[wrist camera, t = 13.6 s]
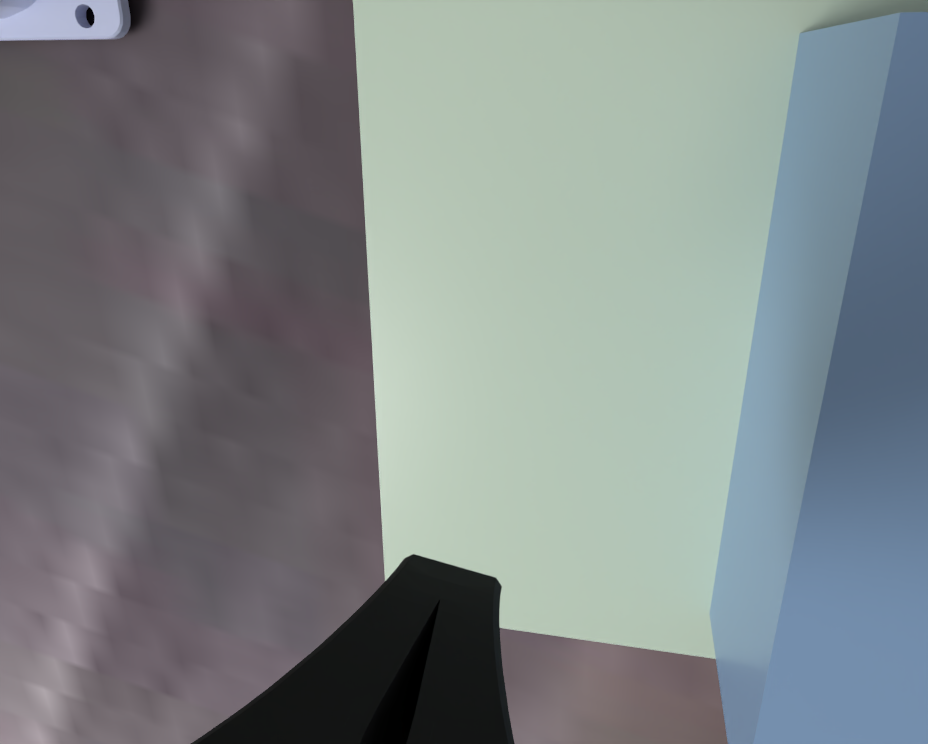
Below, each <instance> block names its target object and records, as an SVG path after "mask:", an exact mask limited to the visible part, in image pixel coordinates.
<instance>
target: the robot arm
mask: <svg viewBox="0 0 928 744" xmlns="http://www.w3.org/2000/svg"><path fill="white" fill-rule="evenodd" d="M89 7H90V8H91V9H92V11H93V13H94V16H95V20H94V24H93V25H92V27H91V26H90V25H89V24H88V21H87V18H86V11H87V9H88V8H89ZM130 25H131V16H130V10H129V4H128V0H0V41H17V40H91V39H119V38H122V37H124V36H125V35H126V34H127V33H128V30H129V28H130ZM501 589H502V586H501V584H500V583H499V581H498V580H497V578H496V577H492V576H489V575H485V574H482V573H478V572H475V571H471V570H468V569H464V568H461V567H457V566H454V565H450V564H447V563H443V562H440V561H436V560H433V559H429V558H426V557H422V556H419V555H415V554H412V555H410V556H408V557H406V558H404V560H403V561H402V562H401V563H400V565H399V566H398V567H397V568H396V570H395V571H394V572H393V573H392V574H391V575H390V577H389V578H388V579H387V580H386V581H385V582H384V583H383V584H382V585H381V587H380V588H379V589H378V590H377V591H376V592H375V593H374V594H373V595H372V596H371V597H370V598H369V599H368V600H367V601H366V602H365V603H364V604H363V605H362V606H361V607H360V608H359V609H358V610H357V611H356V612H355V613H354V614H353V615H352V616H351V617H350V618H349V619H348V620H347V621H346V622H345V623H343V624H342V625H341V626H340V627H339V628H338V629H337V630H336V631H335V632H334V633H333V634H332V635H331V636H330V637H328V638H327V639H326V640H325V641H324V642H323V643H322V644H321V645H320V646H319V647H317V648H316V649H315V650H314V651H313V652H312V653H311V654H309V655H308V656H307V657H306V658H304V659H303V660H302V661H301V662H300V663H298V664H297V665H296V666H295V667H294V668H292V669H291V670H290V671H289V672H288V673H286V674H285V675H284V676H283V677H282V678H280V679H279V680H278V681H277V682H275V683H274V684H273V685H272V686H271V687H269V688H268V689H267V690H265V691H264V692H263V693H262V694H260V695H259V696H258V697H256V698H255V699H254V700H252V701H251V702H250V703H248V704H247V705H246V706H244V707H243V708H242V709H240V710H239V711H237V712H236V713H235V714H233V715H232V716H231V717H229V718H228V719H226V720H225V721H223V722H222V723H221V724H219V725H218V726H216V727H215V728H213V729H212V730H211V731H209V732H208V733H206V734H205V735H203V736H202V737H200V738H199V739H197V740H196V741H194V742H193V743H191V744H514V740H513V734H512V729H511V723H510V718H509V712H508V705H507V698H506V691H505V683H504V676H503V668H502V659H501V646H500V628H499V608H500V595H501Z"/></svg>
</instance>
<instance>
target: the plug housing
mask: <svg viewBox="0 0 928 744" xmlns="http://www.w3.org/2000/svg"><path fill="white" fill-rule="evenodd" d="M710 621H711V628H712V635H713V642H714V649H715V656H716V663H717V670H718V677H719V684H720V691H721V698H722V705H723V712H724V719H725V726H726V733H727V740H728V744H928V12H900V13H896V14H891V15H886V16H881V17H876V18H871V19H866V20H862V21H857V22H852V23H847V24H842V25H837V26H833V27H828V28H823V29H818V30H813V31H808V32H803V33H800V35H799V41H798V48H797V54H796V61H795V67H794V73H793V80H792V86H791V93H790V99H789V106H788V112H787V118H786V125H785V131H784V138H783V144H782V151H781V157H780V163H779V170H778V176H777V183H776V189H775V196H774V202H773V209H772V215H771V221H770V228H769V234H768V241H767V247H766V254H765V260H764V266H763V273H762V279H761V286H760V292H759V299H758V305H757V311H756V318H755V324H754V331H753V337H752V344H751V350H750V356H749V363H748V369H747V376H746V382H745V389H744V395H743V401H742V408H741V414H740V421H739V427H738V434H737V440H736V446H735V453H734V459H733V466H732V472H731V479H730V485H729V491H728V498H727V504H726V511H725V517H724V524H723V530H722V536H721V543H720V549H719V556H718V562H717V569H716V575H715V582H714V588H713V594H712V601H711V607H710Z"/></svg>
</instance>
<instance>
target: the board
mask: <svg viewBox="0 0 928 744" xmlns="http://www.w3.org/2000/svg"><path fill="white" fill-rule="evenodd" d="M353 9H354V27H355V45H356V63H357V81H358V99H359V117H360V135H361V153H362V172H363V190H364V208H365V226H366V244H367V262H368V280H369V298H370V316H371V334H372V352H373V371H374V389H375V407H376V425H377V443H378V461H379V479H380V497H381V515H382V533H383V552H384V570H385V581H386V580H387V579H388V578H389V577H390V575H391V574H392V573H393V572H394V571H395V570H396V568H397V567H398V566H399V565H400V563H401V562H402V561H403V560H404V558H406V557H408V556H410V555H412V554H415V555H419V556H422V557H426V558H429V559H433V560H436V561H440V562H443V563H447V564H450V565H454V566H457V567H461V568H464V569H468V570H471V571H475V572H478V573H482V574H485V575H489V576H492V577H496V578H497V580H498V581H499V583H500V584H501V586H502V589H501V595H500V608H499V628H505V629H512V630H519V631H526V632H533V633H540V634H547V635H554V636H561V637H568V638H575V639H582V640H589V641H596V642H603V643H609V644H616V645H623V646H630V647H637V648H644V649H651V650H658V651H665V652H672V653H679V654H686V655H693V656H700V657H707V658H714V659H716V656H715V649H714V642H713V635H712V628H711V621H710V607H711V601H712V594H713V588H714V582H715V575H716V569H717V562H718V556H719V549H720V543H721V536H722V530H723V524H724V517H725V511H726V504H727V498H728V491H729V485H730V479H731V472H732V466H733V459H734V453H735V446H736V440H737V434H738V427H739V421H740V414H741V408H742V401H743V395H744V389H745V382H746V376H747V369H748V363H749V356H750V350H751V344H752V337H753V331H754V324H755V318H756V311H757V305H758V299H759V292H760V286H761V279H762V273H763V266H764V260H765V254H766V247H767V241H768V234H769V228H770V221H771V215H772V209H773V202H774V196H775V189H776V183H777V176H778V170H779V163H780V157H781V151H782V144H783V138H784V131H785V125H786V118H787V112H788V106H789V99H790V93H791V86H792V80H793V73H794V67H795V61H796V54H797V48H798V41H799V35H800V33H803V32H808V31H813V30H818V29H823V28H828V27H833V26H837V25H842V24H847V23H852V22H857V21H862V20H866V19H871V18H876V17H881V16H886V15H891V14H896V13H900V12H928V0H353Z"/></svg>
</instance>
